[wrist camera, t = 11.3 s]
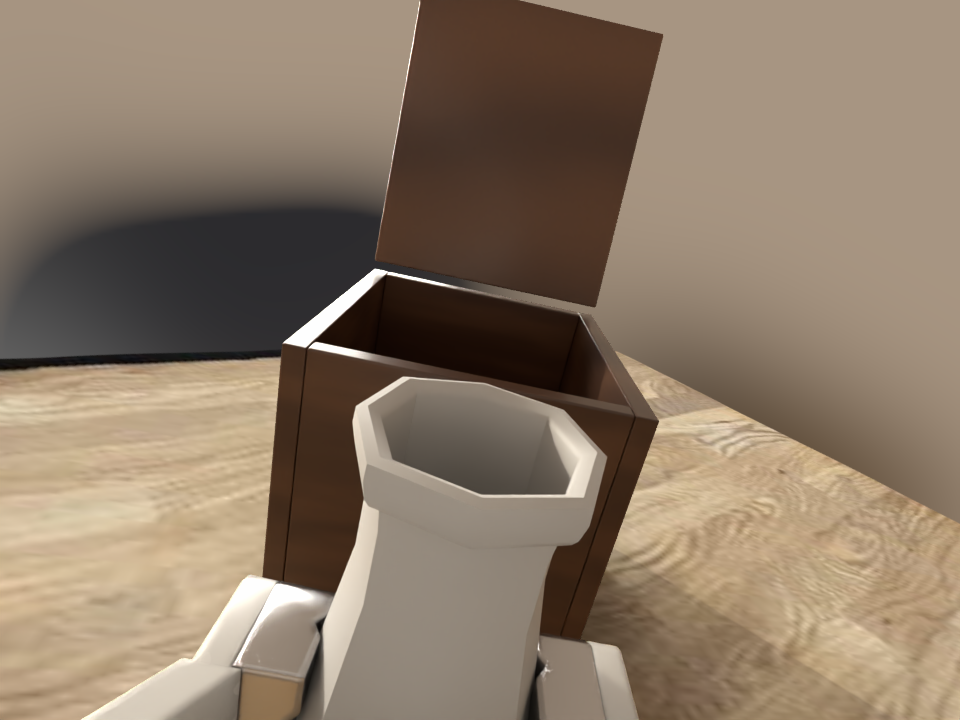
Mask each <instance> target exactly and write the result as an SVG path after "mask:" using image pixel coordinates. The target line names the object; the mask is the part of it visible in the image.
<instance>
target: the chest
mask: <svg viewBox="0 0 960 720" xmlns="http://www.w3.org/2000/svg"><path fill="white" fill-rule="evenodd" d="M402 377H415V378H427V379H440V380H453V381H466V382H479V383H486V384H489V385H492V386H495V387H498V388H501V389H504V390H507V391H510V392H513V393H516V394H518V395H521V396H524V397H527V398H530V399H533V400H536V401H539V402H542V403H545V404H548V405H551V406H554V407H557V408H560V409H563V410H564V411H565V412H566V413H567V414H568V415H569V416H570V417H571V418H572V419H573V420H574V421H575V422H576V424H577V425H578V426H579V427H580V428H581V429H582V430H583V431H584V432H585V433H586V434H587V436H588V437H589V438H590V439H591V440H592V441H593V442H594V443H595V444H596V445H597V446H598V447H599V449H600V450H601V451H602V452H603V453H604V454H605V455H606V456H607V460H606V464H605V468H604V472H603V476H602V480H601V484H600V488H599V492H598V496H597V500H596V504H595V508H594V512H593V515H592V519H591V523H590V526H589V528H588V529H587V531H586V532H585V533H584V535H583V536H582V538H581V539H580V540H579V542H577V543H575V544H573V545H566V546H557V547H556V549H555V551H554V553H553V555H552V559H551V562H550V565H549V568H548V572H547V575H546V578H545V585H544V594H543V604H542V613H541V623H540V632H541V633H547V634H552V635H558V636H563V637H569V638H574V639H580V638H581V635H582V632H583V630H584V627H585V624H586V621H587V619H588V616H589V613H590V610H591V608H592V605H593V602H594V599H595V597H596V594H597V591H598V588H599V586H600V583H601V580H602V577H603V574H604V572H605V569H606V566H607V563H608V561H609V558H610V555H611V552H612V550H613V547H614V544H615V541H616V539H617V536H618V533H619V530H620V528H621V525H622V522H623V519H624V517H625V514H626V511H627V508H628V505H629V503H630V500H631V497H632V494H633V492H634V489H635V486H636V483H637V481H638V478H639V475H640V472H641V470H642V467H643V464H644V461H645V459H646V456H647V453H648V450H649V448H650V445H651V442H652V439H653V437H654V434H655V431H656V428H657V425H658V423H659V420H658V419H657V417H656V416H655V414H654V413H653V411H652V409H651V408H650V406H649V405H648V403H647V402H646V400H645V398H644V397H643V395H642V394H641V392H640V391H639V389H638V387H637V386H636V384H635V383H634V381H633V380H632V378H631V376H630V375H629V373H628V372H627V370H626V369H625V367H624V365H623V364H622V362H621V361H620V359H619V358H618V356H617V354H616V353H615V351H614V350H613V348H612V347H611V345H610V343H609V342H608V340H607V339H606V337H605V336H604V334H603V333H602V331H601V329H600V328H599V326H598V325H597V323H596V322H595V320H594V318H593V317H592V316H591V315H588V314H584V313H577V312H574V311H569V310H564V309H559V308H555V307H550V306H545V305H541V304H536V303H532V302H527V301H522V300H517V299H513V298H508V297H503V296H499V295H494V294H489V293H485V292H480V291H475V290H470V289H466V288H461V287H457V286H452V285H447V284H443V283H438V282H433V281H429V280H424V279H419V278H415V277H409V276H405V275H400V274H395V273H390V272H389V273H388V272H387V271H382V270H378V269H374V270H373V271H372V272H371V273H369V274H368V275H367V276H366V277H364V278H363V279H362V280H361V281H360V282H358V283H357V284H356V285H354V286H353V287H352V288H351V289H350V290H348V291H347V292H346V293H345V294H343V295H342V296H341V297H340V298H338V299H337V300H336V301H335V302H333V303H332V304H331V305H330V306H329V307H327V308H326V309H325V310H323V311H322V312H321V313H320V314H318V315H317V316H316V317H315V318H313V319H312V320H311V321H310V322H308V323H307V324H306V325H305V326H303V327H302V328H301V329H300V330H299V331H297V332H296V333H295V334H294V335H292V336H291V337H290V338H289V339H287V340H286V341H285V342H284V343H283V344H282V353H281V365H280V377H279V388H278V400H277V412H276V424H275V435H274V447H273V459H272V471H271V482H270V494H269V506H268V518H267V529H266V541H265V553H264V565H263V576H262V577H263V578H267V579H272V580H276V581H284V582H288V583H293V584H297V585H302V586H306V587H311V588H315V589H320V590H324V591H329V592H333V593H336V592H337V589H338V587H339V584H340V582H341V579H342V577H343V574H344V571H345V569H346V566H347V564H348V561H349V559H350V556H351V554H352V551H353V549H354V546H355V544H356V538H357V533H358V528H359V522H360V517H361V512H362V506H363V501H364V496H363V489H362V483H361V477H360V471H359V465H358V459H357V453H356V447H355V441H354V432H353V417H354V412H355V408H356V406H357V405H358V404H360V403H362V402H363V401H365V400H366V399H368V398H370V397H371V396H373V395H374V394H376V393H378V392H379V391H381V390H382V389H384V388H386V387H387V386H389V385H390V384H392V383H394V382H395V381H397V380H398V379H400V378H402Z"/></svg>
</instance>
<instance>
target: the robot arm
mask: <svg viewBox="0 0 960 720" xmlns="http://www.w3.org/2000/svg"><path fill="white" fill-rule="evenodd" d="M335 594H336V593H333V592H329V591H324V590H320V589H315V588H311V587H306V586H302V585H297V584H293V583H288V582H284V581H276V580H272V579H267V578H263V577H259V576H254V575H250V574H249V575H248V576H247V577H246V578H245V579H244V580H242V581H241V583H240V585H239V586H238V588H237V589H236V591H235V592H234V594H233V596H232V597H231V599H230V600H229V602H228V604H227V605H226V607H225V608H224V610H223V612H222V613H221V615H220V616H219V618H218V620H217V621H216V623H215V624H214V626H213V627H212V629H211V631H210V632H209V634H208V635H207V637H206V639H205V640H204V642H203V643H202V645H201V647H200V648H199V650H198V651H197V653H196V655H195V656H194V658H193V659H185V658H182V659H180V660H178V661H177V662H175V663H173V664H172V665H170V666H168V667H167V668H165V669H164V670H162V671H160V672H159V673H157V674H155V675H154V676H152V677H150V678H149V679H147V680H145V681H144V682H142V683H141V684H139V685H137V686H136V687H134V688H132V689H131V690H129V691H127V692H126V693H124V694H123V695H121V696H119V697H118V698H116V699H114V700H113V701H111V702H109V703H108V704H106V705H105V706H103V707H101V708H100V709H98V710H96V711H95V712H93V713H91V714H90V715H88V716H86V717H85V718H83V719H82V720H296V719H297V715H298V714H300V712H301V709H302V706H303V704H304V701H305V698H306V695H307V692H308V689H309V685H310V681H311V677H312V674H313V670H314V666H315V662H316V659H317V655H318V651H319V644H320V635H319V634H320V632H321V629H322V627H323V624H324V622H325V619H326V617H327V614H328V612H329V609H330V607H331V604H332V602H333V599H334V597H335ZM528 720H639V717H638V714H637V710H636V706H635V702H634V699H633V695H632V691H631V687H630V683H629V680H628V676H627V672H626V668H625V664H624V661H623V657H622V653H621V651H620V650H619V648H618V647H617V646H612V645H607V644H601V643H596V642H590V641H588V642H586V641H585V640H580V639H574V638H569V637H563V636H558V635H552V634H547V633H541V632H539V641H538V651H537V660H536V669H535V684H534V687H533V690H532V693H531V697H530V706H529V715H528Z"/></svg>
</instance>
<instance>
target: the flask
mask: <svg viewBox="0 0 960 720" xmlns="http://www.w3.org/2000/svg"><path fill="white" fill-rule="evenodd" d="M353 432H354V441H355V447H356V453H357V459H358V465H359V471H360V477H361V483H362V489H363V496H364V501H363V506H362V512H361V517H360V522H359V528H358V533H357V538H356V544H355V546H354V549H353V551H352V554H351V556H350V559H349V561H348V564H347V566H346V569H345V571H344V574H343V577H342V579H341V582H340V584H339V587H338V589H337V592H336V594H335V597H334V599H333V602H332V604H331V607H330V609H329V612H328V614H327V617H326V619H325V622H324V624H323V627H322V629H321V632H320V634H319V635H320V644H319V651H318V655H317V659H316V662H315V666H314V670H313V674H312V677H311V681H310V685H309V689H308V692H307V695H306V698H305V701H304V704H303V706H302V709H301V712H300V714H298V715H297V719H296V720H528V715H529V706H530V697H531V693H532V690H533V687H534V684H535V669H536V660H537V651H538V641H539V632H540V623H541V613H542V604H543V594H544V585H545V578H546V575H547V572H548V568H549V565H550V562H551V559H552V555H553V553H554V551H555V549H556V547H557V546H566V545H573V544H575V543H577V542H579V540H580V539H581V538H582V536H583V535H584V533H585V532H586V531H587V529H588V528H589V526H590V523H591V519H592V515H593V512H594V508H595V504H596V500H597V496H598V492H599V488H600V484H601V480H602V476H603V472H604V468H605V464H606V460H607V456H606V455H605V454H604V453H603V452H602V451H601V450H600V449H599V447H598V446H597V445H596V444H595V443H594V442H593V441H592V440H591V439H590V438H589V437H588V436H587V434H586V433H585V432H584V431H583V430H582V429H581V428H580V427H579V426H578V425H577V424H576V422H575V421H574V420H573V419H572V418H571V417H570V416H569V415H568V414H567V413H566V412H565V411H564V410H563V409H560V408H557V407H554V406H551V405H548V404H545V403H542V402H539V401H536V400H533V399H530V398H527V397H524V396H521V395H518V394H516V393H513V392H510V391H507V390H504V389H501V388H498V387H495V386H492V385H489V384H486V383H479V382H466V381H453V380H440V379H427V378H415V377H402V378H400V379H398V380H397V381H395V382H394V383H392V384H390V385H389V386H387V387H386V388H384V389H382V390H381V391H379V392H378V393H376V394H374V395H373V396H371V397H370V398H368V399H366V400H365V401H363V402H362V403H360V404H358V405H357V406H356V408H355V412H354V417H353Z"/></svg>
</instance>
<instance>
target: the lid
mask: <svg viewBox="0 0 960 720" xmlns="http://www.w3.org/2000/svg"><path fill="white" fill-rule="evenodd" d="M662 39H663V34H660V33H655V32H651V31H647V30H643V29H638V28H634V27H630V26H625V25H621V24H617V23H613V22H609V21H604V20H600V19H596V18H592V17H587V16H583V15H579V14H574V13H570V12H566V11H562V10H558V9H554V8H550V7H545V6H541V5H537V4H533V3H528V2H524V1H520V0H420V5H419V10H418V16H417V21H416V27H415V33H414V39H413V44H412V50H411V56H410V61H409V67H408V73H407V79H406V85H405V90H404V96H403V102H402V107H401V113H400V119H399V124H398V130H397V136H396V141H395V147H394V153H393V159H392V164H391V170H390V176H389V182H388V187H387V193H386V199H385V204H384V210H383V216H382V222H381V227H380V233H379V239H378V245H377V250H376V256H375V260H376V261H380V262H385V263H390V264H395V265H399V266H404V267H408V268H413V269H418V270H422V271H427V272H432V273H436V274H441V275H446V276H451V277H456V278H460V279H464V280H470V281H474V282H478V283H483V284H488V285H492V286H497V287H502V288H507V289H511V290H516V291H520V292H525V293H530V294H534V295H539V296H544V297H548V298H553V299H558V300H562V301H567V302H572V303H577V304H581V305H586V306H590V307H596V304H597V299H598V296H599V291H600V287H601V284H602V279H603V275H604V271H605V267H606V263H607V259H608V255H609V251H610V247H611V243H612V239H613V235H614V231H615V227H616V223H617V219H618V215H619V211H620V207H621V203H622V199H623V195H624V191H625V187H626V183H627V179H628V175H629V171H630V167H631V163H632V159H633V155H634V151H635V147H636V143H637V139H638V135H639V131H640V127H641V123H642V119H643V115H644V111H645V107H646V103H647V99H648V95H649V91H650V87H651V82H652V79H653V75H654V71H655V67H656V63H657V59H658V55H659V51H660V47H661V43H662Z"/></svg>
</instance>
